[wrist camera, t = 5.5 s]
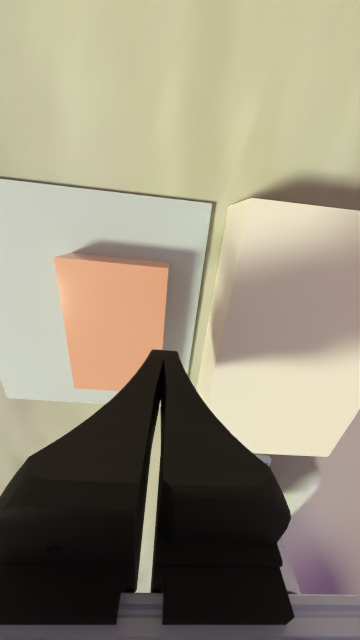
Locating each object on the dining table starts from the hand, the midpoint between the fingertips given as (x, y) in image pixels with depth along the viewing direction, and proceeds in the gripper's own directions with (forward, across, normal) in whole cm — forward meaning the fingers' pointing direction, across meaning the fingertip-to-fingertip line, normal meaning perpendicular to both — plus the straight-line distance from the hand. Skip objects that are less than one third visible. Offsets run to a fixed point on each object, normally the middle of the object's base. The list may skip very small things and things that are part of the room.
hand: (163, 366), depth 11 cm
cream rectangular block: (+5, -8, 0) cm, 9 cm away
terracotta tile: (+2, +3, 0) cm, 4 cm away
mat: (+5, +6, 0) cm, 7 cm away
